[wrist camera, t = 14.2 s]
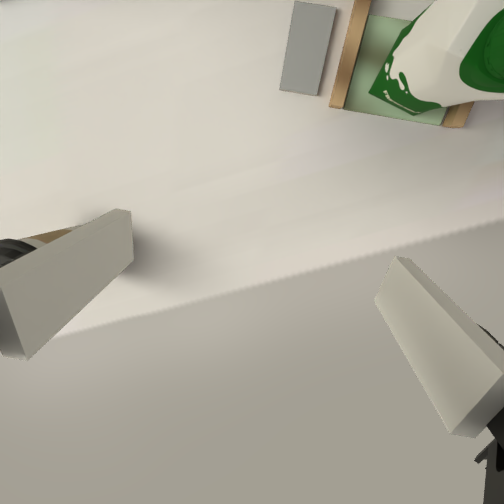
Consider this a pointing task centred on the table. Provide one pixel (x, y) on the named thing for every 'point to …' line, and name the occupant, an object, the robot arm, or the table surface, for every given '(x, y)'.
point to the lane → (368, 66)
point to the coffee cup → (28, 243)
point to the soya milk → (446, 57)
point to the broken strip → (306, 47)
